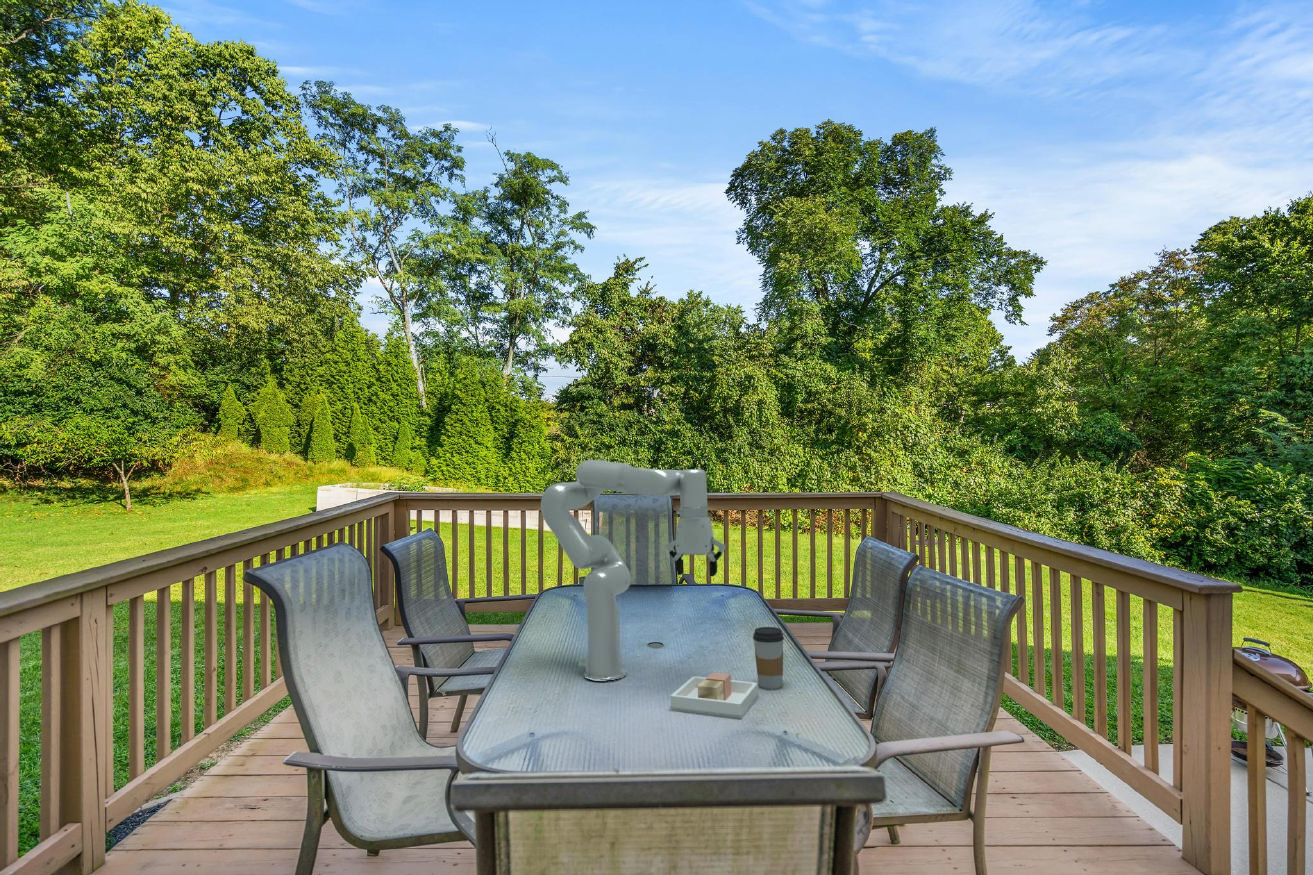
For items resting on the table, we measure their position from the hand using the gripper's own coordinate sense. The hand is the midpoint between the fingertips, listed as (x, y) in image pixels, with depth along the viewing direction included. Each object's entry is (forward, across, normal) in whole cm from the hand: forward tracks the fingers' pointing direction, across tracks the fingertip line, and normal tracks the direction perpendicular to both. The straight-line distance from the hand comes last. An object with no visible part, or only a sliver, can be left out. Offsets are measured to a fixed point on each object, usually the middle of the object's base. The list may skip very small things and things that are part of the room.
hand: (696, 574), depth 174 cm
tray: (+30, +8, -11) cm, 33 cm away
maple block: (+30, +8, -14) cm, 34 cm away
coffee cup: (+31, +18, +6) cm, 36 cm away
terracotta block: (+30, +8, -8) cm, 32 cm away
